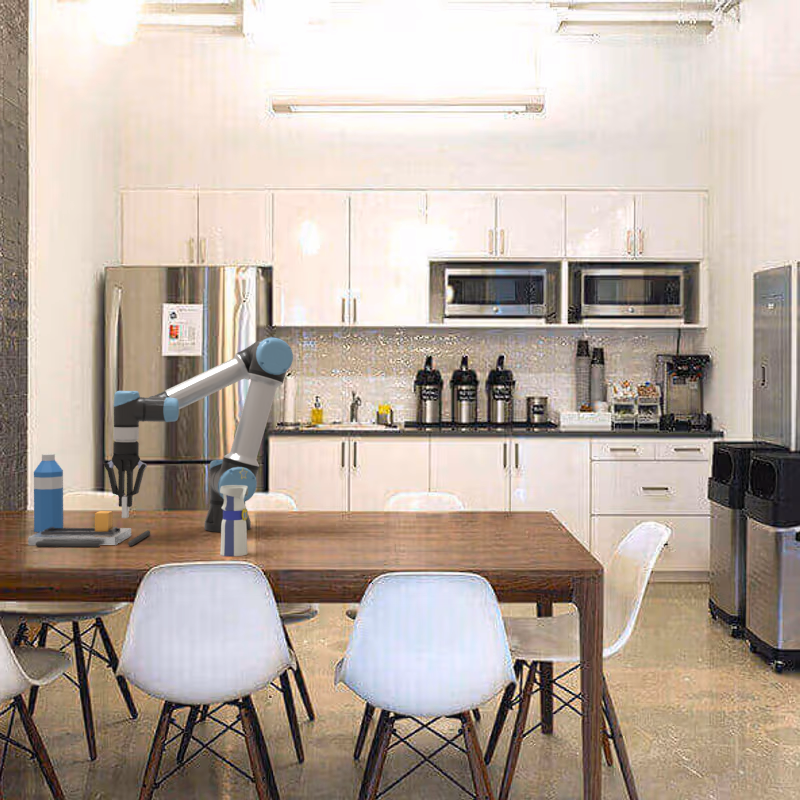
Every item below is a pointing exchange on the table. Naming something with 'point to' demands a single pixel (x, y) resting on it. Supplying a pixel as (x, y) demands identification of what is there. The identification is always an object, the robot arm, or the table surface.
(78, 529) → the panel
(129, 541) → the rounded gray dowel
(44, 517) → the water bottle
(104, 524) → the matte orange cube
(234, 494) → the white tall piece
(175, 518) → the table surface
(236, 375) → the robot arm
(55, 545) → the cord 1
